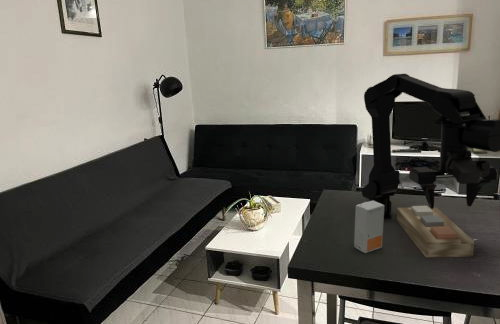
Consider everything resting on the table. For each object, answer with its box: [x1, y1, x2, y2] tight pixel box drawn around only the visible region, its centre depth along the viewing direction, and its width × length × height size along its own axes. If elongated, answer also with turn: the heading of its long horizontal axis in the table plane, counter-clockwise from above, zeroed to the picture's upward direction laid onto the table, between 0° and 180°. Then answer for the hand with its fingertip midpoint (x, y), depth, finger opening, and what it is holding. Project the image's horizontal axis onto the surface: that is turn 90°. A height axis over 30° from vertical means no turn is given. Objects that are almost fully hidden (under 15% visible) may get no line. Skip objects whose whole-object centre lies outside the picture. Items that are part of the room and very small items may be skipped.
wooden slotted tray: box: [396, 206, 475, 258], centre depth 102 cm, size 11×22×4 cm, turn 177°
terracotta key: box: [431, 226, 457, 239], centre depth 95 cm, size 4×4×2 cm
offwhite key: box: [410, 205, 433, 216], centre depth 108 cm, size 4×4×2 cm
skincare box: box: [353, 201, 385, 254], centre depth 97 cm, size 6×4×12 cm
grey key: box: [420, 215, 444, 227], centre depth 101 cm, size 4×4×2 cm
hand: (450, 207), depth 93 cm, fingers open, 9 cm apart
